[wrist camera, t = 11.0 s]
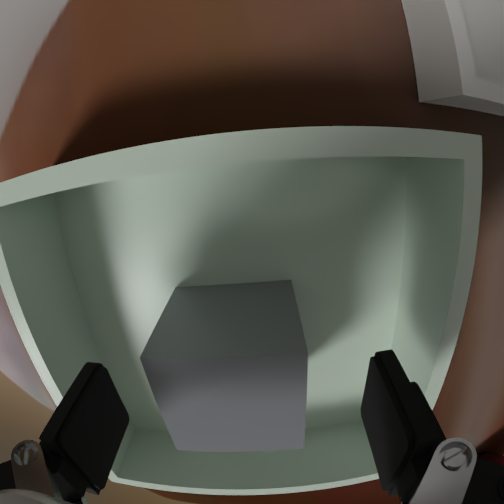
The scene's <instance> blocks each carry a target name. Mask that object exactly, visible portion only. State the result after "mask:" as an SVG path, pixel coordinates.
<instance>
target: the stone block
mask: <svg viewBox="0 0 504 504" xmlns="http://www.w3.org/2000/svg"><path fill="white" fill-rule="evenodd" d="M140 360H141V363H142V366H143V368H144V371H145V374H146V377H147V379H148V382H149V385H150V387H151V390H152V393H153V395H154V398H155V400H156V403H157V405H158V408H159V410H160V413H161V415H162V417H163V420H164V422H165V424H166V427H167V429H168V431H169V434H170V436H171V438H172V440H173V442H174V445H175V447H176V449H177V450H181V451H198V452H261V451H278V450H291V449H302V448H304V442H305V424H306V402H307V372H308V350H307V345H306V341H305V337H304V332H303V328H302V324H301V319H300V315H299V311H298V306H297V302H296V298H295V294H294V290H293V285H292V281H291V280H279V281H265V282H251V283H237V284H221V285H205V286H187V287H175V289H174V291H173V293H172V295H171V297H170V299H169V301H168V302H167V304H166V306H165V308H164V310H163V312H162V314H161V316H160V318H159V320H158V322H157V324H156V326H155V328H154V330H153V332H152V334H151V336H150V338H149V340H148V342H147V344H146V346H145V348H144V350H143V352H142V354H141V356H140Z"/></svg>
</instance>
